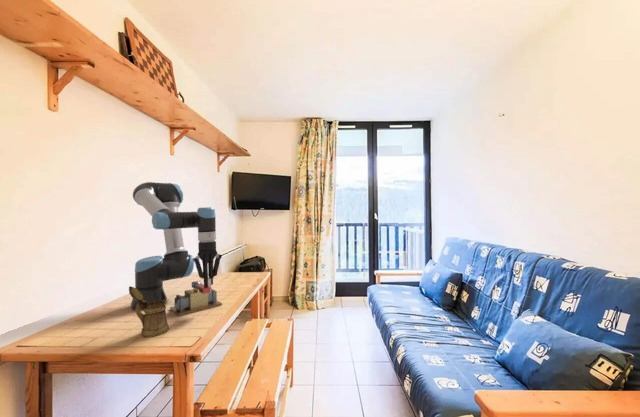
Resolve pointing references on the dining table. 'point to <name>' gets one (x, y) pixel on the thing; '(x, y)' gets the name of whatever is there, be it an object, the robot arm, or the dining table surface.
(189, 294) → the valve body
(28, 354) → the dining table surface
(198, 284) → the lever
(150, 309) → the wooden mug
